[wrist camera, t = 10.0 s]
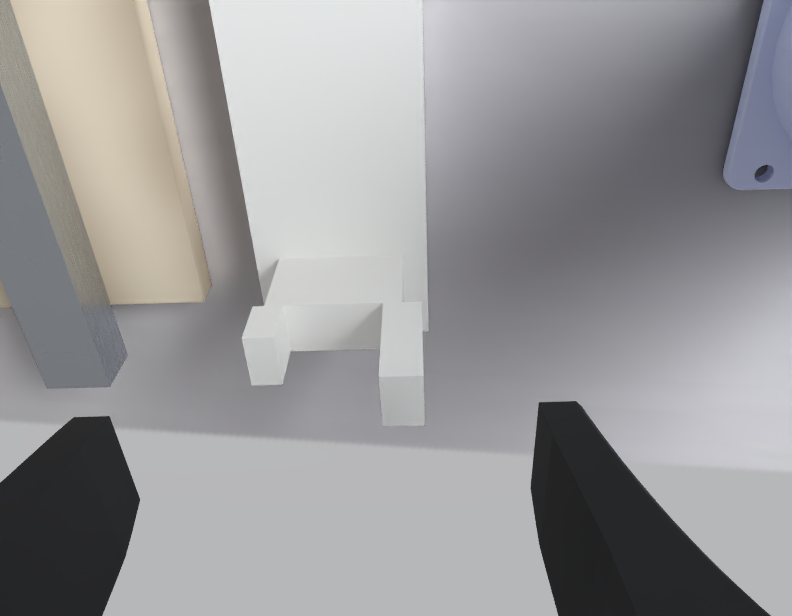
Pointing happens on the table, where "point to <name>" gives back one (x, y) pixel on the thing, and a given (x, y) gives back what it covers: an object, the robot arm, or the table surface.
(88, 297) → the steel rail
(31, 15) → the beech board
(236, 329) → the table surface
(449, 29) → the table surface
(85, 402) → the table surface
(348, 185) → the bracket stand
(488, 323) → the table surface
